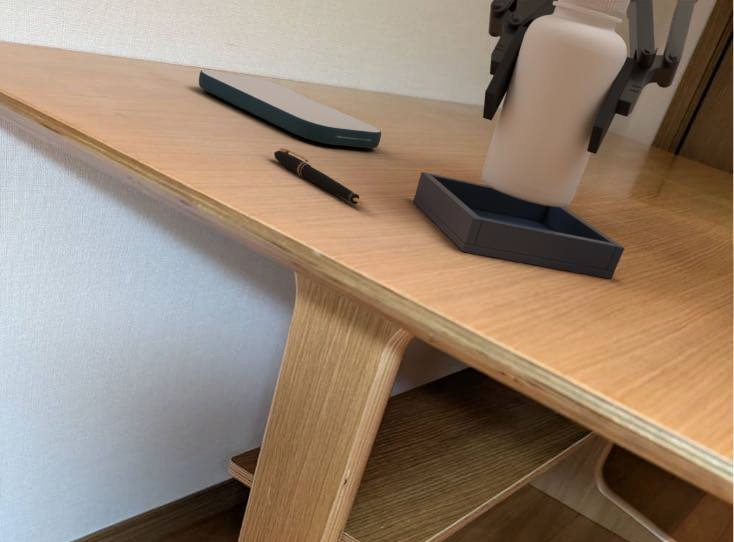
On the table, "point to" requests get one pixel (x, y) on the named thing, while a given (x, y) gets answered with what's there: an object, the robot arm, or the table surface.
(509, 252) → the tray
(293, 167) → the fountain pen
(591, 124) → the pill bottle
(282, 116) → the external hard drive
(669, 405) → the table surface
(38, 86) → the table surface
